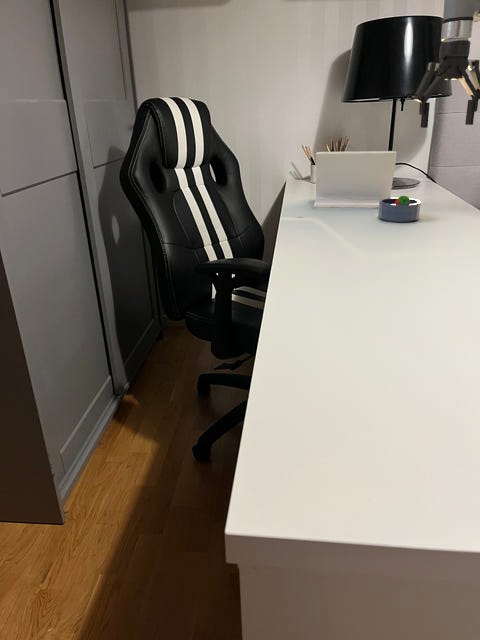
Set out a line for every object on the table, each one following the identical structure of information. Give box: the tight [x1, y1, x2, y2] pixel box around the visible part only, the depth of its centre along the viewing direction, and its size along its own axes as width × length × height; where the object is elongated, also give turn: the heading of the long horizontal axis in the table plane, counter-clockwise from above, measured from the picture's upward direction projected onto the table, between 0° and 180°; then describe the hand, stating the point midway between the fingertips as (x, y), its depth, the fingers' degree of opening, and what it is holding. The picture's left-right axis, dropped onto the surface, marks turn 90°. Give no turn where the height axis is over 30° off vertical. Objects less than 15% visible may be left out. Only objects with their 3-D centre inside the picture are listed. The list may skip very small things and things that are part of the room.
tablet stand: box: [313, 150, 398, 209], centre depth 166 cm, size 18×25×17 cm
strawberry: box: [394, 195, 411, 205], centre depth 141 cm, size 5×5×7 cm
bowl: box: [377, 197, 421, 223], centre depth 144 cm, size 11×11×5 cm
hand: (446, 126), depth 142 cm, fingers open, 13 cm apart
